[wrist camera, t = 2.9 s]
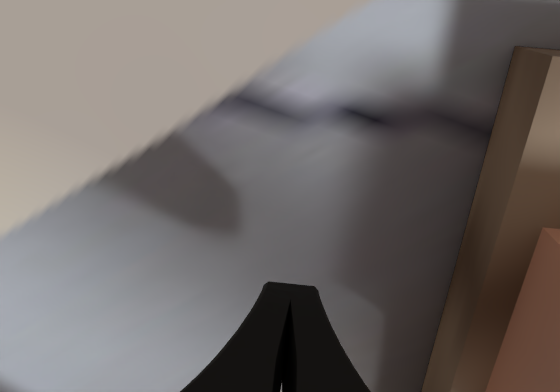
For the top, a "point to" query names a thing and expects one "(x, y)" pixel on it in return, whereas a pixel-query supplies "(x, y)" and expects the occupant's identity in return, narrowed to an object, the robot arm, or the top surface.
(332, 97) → the top surface
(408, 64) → the top surface
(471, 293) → the brown wooden board
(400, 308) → the top surface
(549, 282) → the block
